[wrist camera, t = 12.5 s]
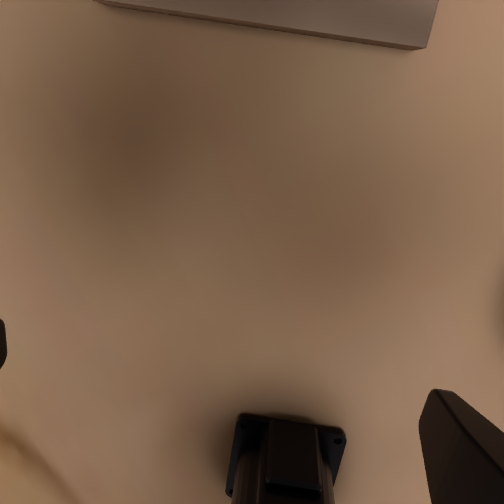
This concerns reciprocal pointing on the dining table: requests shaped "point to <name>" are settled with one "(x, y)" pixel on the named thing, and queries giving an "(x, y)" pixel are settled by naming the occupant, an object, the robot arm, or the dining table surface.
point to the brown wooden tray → (312, 17)
